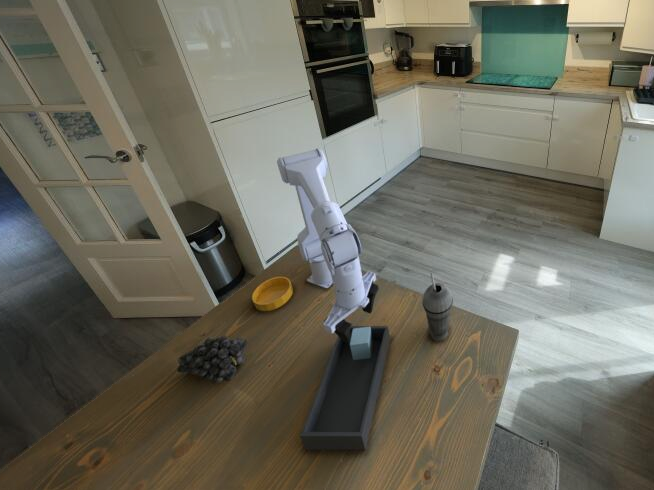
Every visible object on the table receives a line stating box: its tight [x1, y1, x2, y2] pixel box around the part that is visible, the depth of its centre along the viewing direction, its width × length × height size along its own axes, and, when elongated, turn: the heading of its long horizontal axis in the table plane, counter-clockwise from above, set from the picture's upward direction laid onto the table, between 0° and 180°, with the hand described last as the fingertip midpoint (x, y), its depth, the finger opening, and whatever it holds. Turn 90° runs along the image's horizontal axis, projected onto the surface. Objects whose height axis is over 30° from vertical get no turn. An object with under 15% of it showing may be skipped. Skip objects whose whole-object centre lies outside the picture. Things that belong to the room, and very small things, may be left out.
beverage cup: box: [421, 272, 454, 342], centre depth 75 cm, size 7×7×20 cm
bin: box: [299, 325, 391, 451], centre depth 66 cm, size 21×11×5 cm, turn 0°
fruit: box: [176, 335, 248, 385], centre depth 69 cm, size 9×8×15 cm
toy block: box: [350, 327, 373, 360], centre depth 73 cm, size 4×4×6 cm
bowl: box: [251, 276, 294, 312], centre depth 87 cm, size 9×9×3 cm
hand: (357, 325), depth 71 cm, fingers open, 7 cm apart
